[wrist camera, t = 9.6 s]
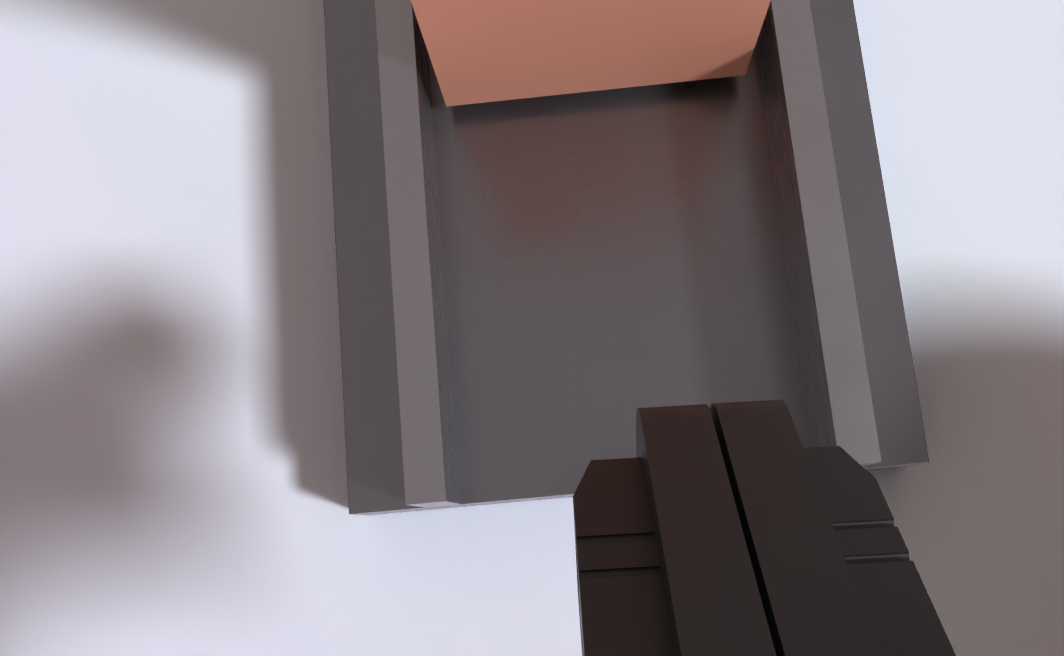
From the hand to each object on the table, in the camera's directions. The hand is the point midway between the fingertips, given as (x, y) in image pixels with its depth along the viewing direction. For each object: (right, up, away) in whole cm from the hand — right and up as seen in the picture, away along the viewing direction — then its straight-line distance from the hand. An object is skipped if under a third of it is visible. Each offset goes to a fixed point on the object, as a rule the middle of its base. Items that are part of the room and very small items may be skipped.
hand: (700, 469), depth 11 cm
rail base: (0, +7, +12) cm, 13 cm away
